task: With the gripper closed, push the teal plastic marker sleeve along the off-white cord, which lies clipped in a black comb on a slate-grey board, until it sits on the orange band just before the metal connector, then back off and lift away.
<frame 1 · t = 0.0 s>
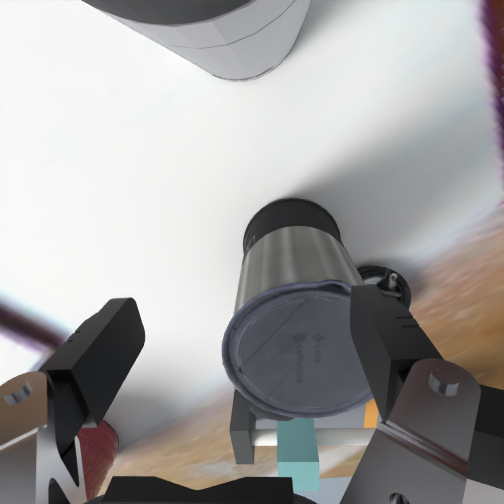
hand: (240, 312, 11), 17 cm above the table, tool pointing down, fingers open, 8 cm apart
milk frother: (324, 263, 29), on the table
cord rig: (324, 397, 37), on the table
sleeve: (296, 440, 33), point 5 cm above the table, slide at 0.0 cm
canister: (78, 433, 44), on the table
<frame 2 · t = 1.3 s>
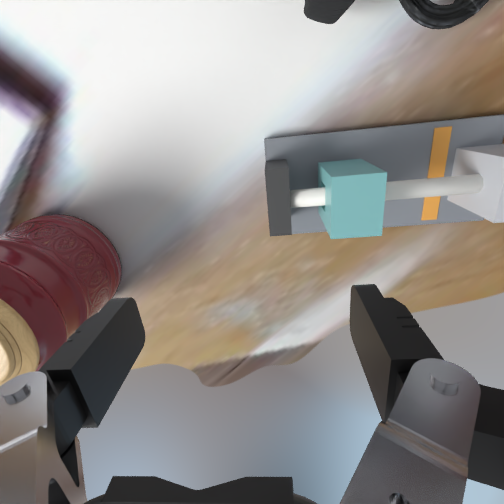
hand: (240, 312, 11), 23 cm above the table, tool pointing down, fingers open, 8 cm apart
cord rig: (374, 179, 31), on the table
sleeve: (346, 195, 26), point 5 cm above the table, slide at 0.0 cm
canister: (74, 260, 37), on the table
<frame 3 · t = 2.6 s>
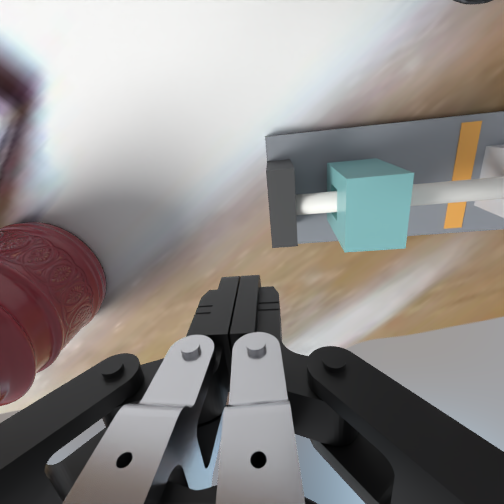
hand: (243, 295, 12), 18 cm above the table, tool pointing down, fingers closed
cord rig: (390, 182, 27), on the table
sleeve: (361, 200, 22), point 5 cm above the table, slide at 0.0 cm
canister: (53, 273, 33), on the table
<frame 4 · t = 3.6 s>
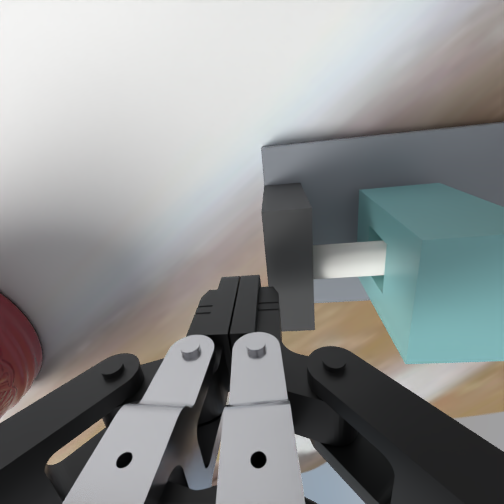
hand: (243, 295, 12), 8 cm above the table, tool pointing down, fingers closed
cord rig: (452, 215, 18), on the table
sleeve: (424, 259, 13), point 5 cm above the table, slide at 0.0 cm
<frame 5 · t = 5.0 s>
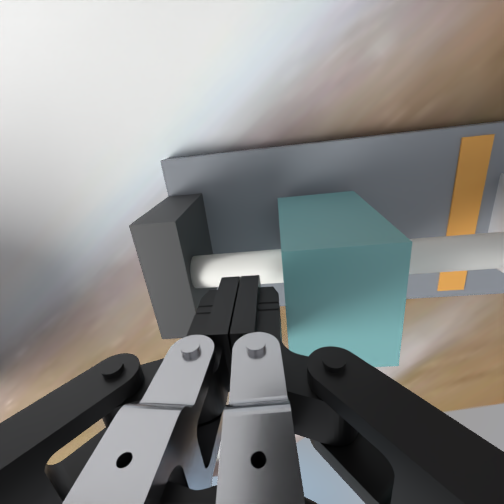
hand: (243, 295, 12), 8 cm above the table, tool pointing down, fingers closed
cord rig: (357, 223, 18), on the table
sleeve: (326, 266, 14), point 5 cm above the table, slide at 1.3 cm, touching gripper
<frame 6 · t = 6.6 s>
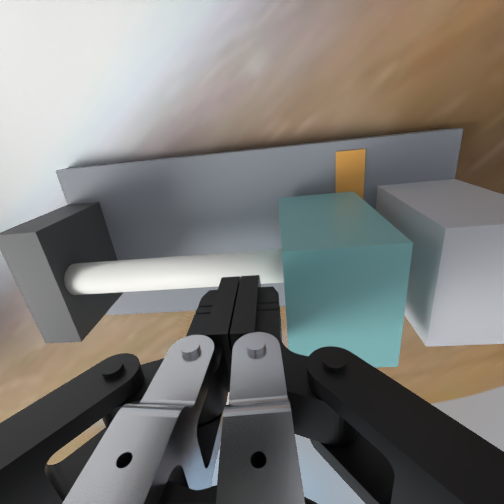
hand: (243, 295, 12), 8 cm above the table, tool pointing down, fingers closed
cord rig: (255, 232, 19), on the table
sleeve: (326, 266, 14), point 5 cm above the table, slide at 7.5 cm, touching gripper
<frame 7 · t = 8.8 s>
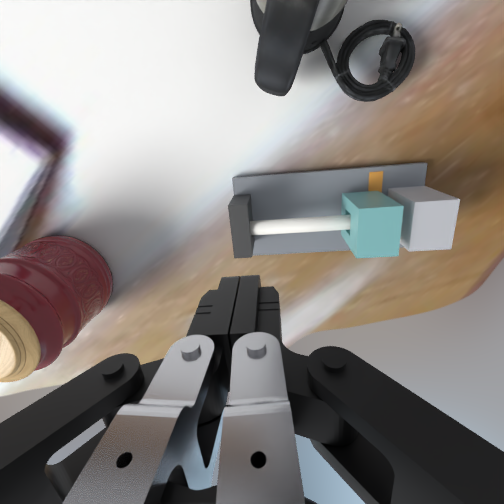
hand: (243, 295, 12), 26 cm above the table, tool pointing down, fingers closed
milk frother: (329, 27, 30), on the table
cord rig: (325, 211, 37), on the table
sleeve: (367, 222, 31), point 5 cm above the table, slide at 7.6 cm
canister: (72, 274, 43), on the table
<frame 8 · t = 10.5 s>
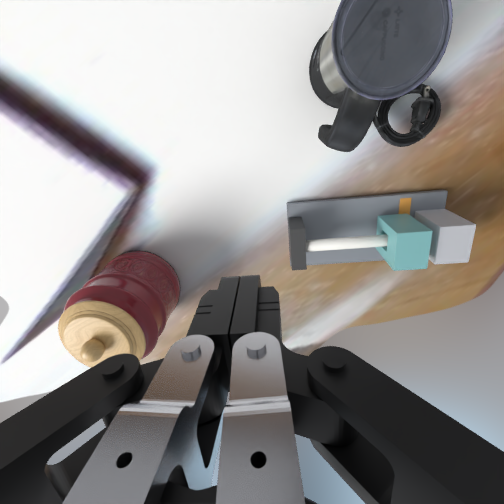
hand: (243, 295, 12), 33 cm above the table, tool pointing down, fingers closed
milk frother: (371, 86, 37), on the table
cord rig: (361, 229, 45), on the table
sleeve: (400, 240, 39), point 5 cm above the table, slide at 7.6 cm
canister: (145, 282, 51), on the table
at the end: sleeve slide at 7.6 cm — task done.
